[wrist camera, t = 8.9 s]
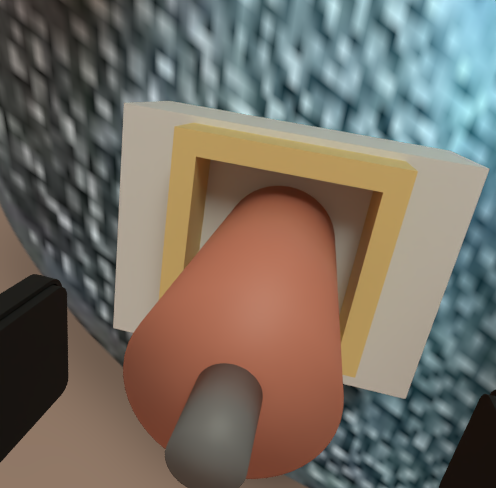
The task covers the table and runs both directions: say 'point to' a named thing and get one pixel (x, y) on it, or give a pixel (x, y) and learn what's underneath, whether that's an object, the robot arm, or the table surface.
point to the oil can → (245, 347)
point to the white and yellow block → (319, 187)
